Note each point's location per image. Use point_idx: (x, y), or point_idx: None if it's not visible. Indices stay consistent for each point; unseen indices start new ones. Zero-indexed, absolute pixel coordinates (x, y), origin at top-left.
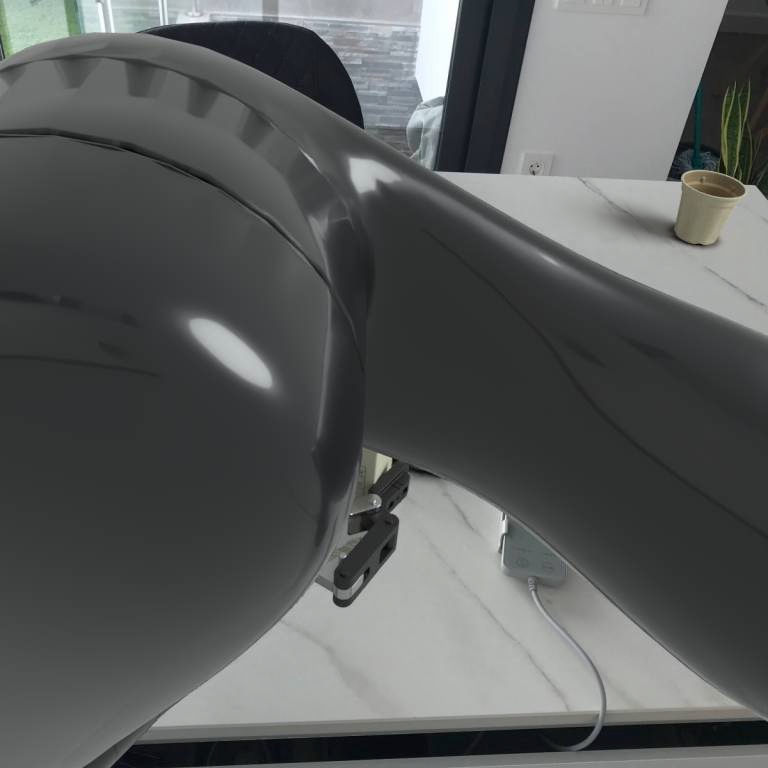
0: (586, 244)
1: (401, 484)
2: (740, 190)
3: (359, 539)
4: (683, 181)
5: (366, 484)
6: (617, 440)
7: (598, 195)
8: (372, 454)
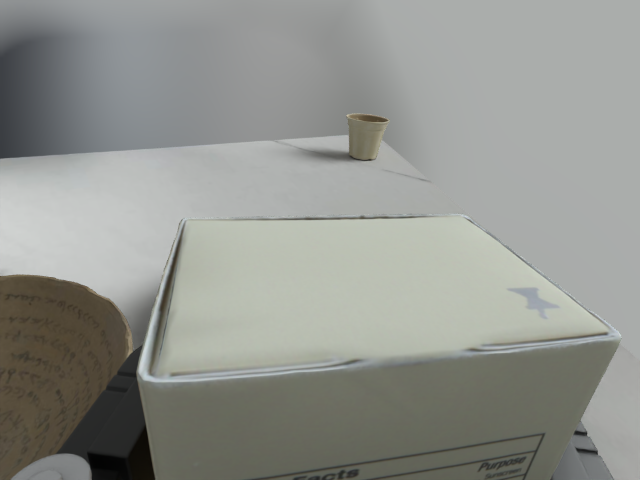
0: (303, 169)
1: (576, 432)
2: (382, 121)
3: None
4: (350, 118)
5: None
6: None
7: (290, 146)
8: (598, 365)
